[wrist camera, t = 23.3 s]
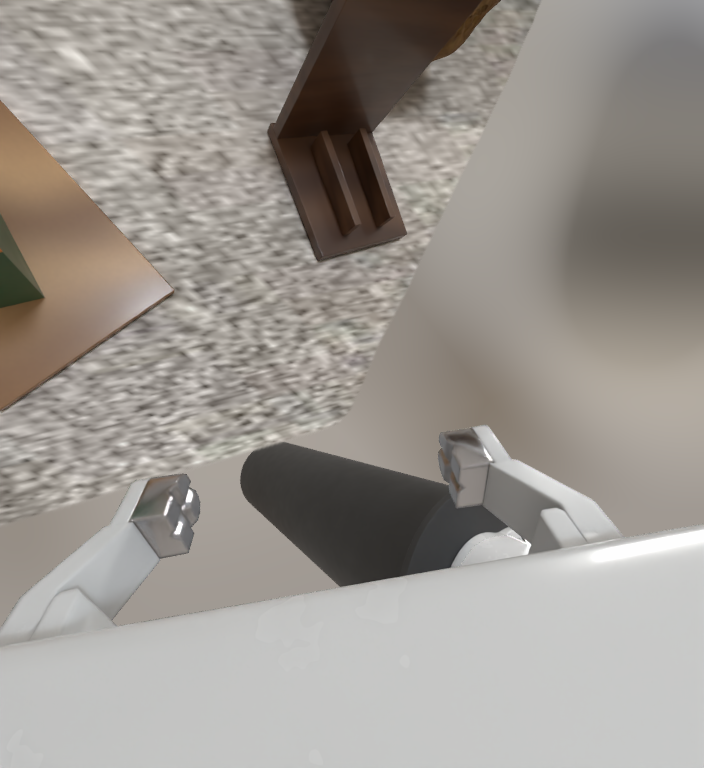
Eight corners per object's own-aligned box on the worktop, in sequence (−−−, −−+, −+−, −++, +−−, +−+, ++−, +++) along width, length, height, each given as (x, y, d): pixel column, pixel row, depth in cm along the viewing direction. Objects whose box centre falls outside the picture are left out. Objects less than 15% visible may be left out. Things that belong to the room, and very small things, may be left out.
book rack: (401, 238, 42) (539, 148, 28) (317, 261, 37) (436, 163, 22) (361, 125, 40) (488, -37, 25) (266, 131, 35) (359, -75, 20)
